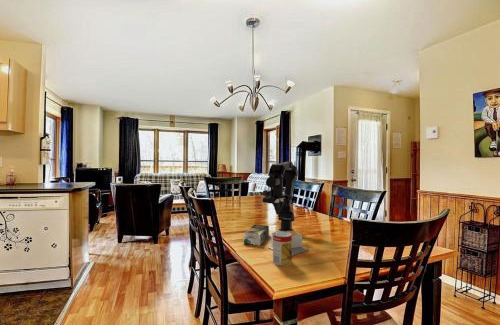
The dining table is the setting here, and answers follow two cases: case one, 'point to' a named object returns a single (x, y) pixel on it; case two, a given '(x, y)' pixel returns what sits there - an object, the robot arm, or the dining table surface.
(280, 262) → the canned food
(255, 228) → the juice carton
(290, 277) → the dining table surface
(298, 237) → the small box
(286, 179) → the robot arm
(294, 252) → the mat
